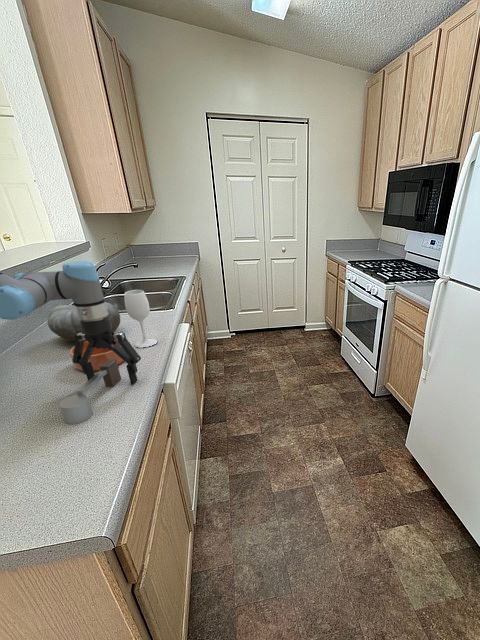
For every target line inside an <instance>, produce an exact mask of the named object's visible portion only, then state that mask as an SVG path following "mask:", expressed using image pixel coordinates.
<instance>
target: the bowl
mask: <svg viewBox="0 0 480 640" xmlns="http://www.w3.org/2000/svg"><path fill="white" fill-rule="evenodd" d="M114 340H115V341H116V339H114ZM117 342H118V341H117ZM118 343H119V342H118ZM88 344H89V342H88V341H85V342H84V347H83V352H82V357H83V355H84V353H85V351H86V349H87V346H88ZM112 346H113V344H112ZM119 346H121V345H120V344H119ZM121 347H122V346H121ZM74 348H75V345H73V347H71V348H70V350H69V355H70V358H71V361H73V355H74ZM107 360H116V362H117V365H118V366H119V365H121V364H122V363H123V362H125V361H124V360H123V359H122V358H120V357H119V356H118V355H117V354H116V353H115V352H113V351H112V350H109V349H108V348H107V349H104V348H99V349H96V348H95V349H94V351H93V352H92V354H91V356H90V358H89V361H88V362H91V364H92V367H93V370H94V372H99V371H100V370H101V369H100V366H101V365H103V364H104V363H105V362H106V361H107ZM88 362H87V363H88ZM72 364H73V367H74V368H75V369H76V370H78V371H82V372H83V370H82V367H81V365H79V364H77V363H76V364H74V363H73V362H72Z"/></svg>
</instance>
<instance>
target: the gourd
mask: <svg viewBox="0 0 480 640" xmlns="http://www.w3.org/2000/svg"><path fill="white" fill-rule="evenodd" d="M105 303H106V306H107V310H108V313H109V314H108V315H107V316H109V317H110V321H111V324H112V331H113V333H115V332H116V331H117V330H118V328H119V326H120V324H121V313H120V311H119V309H118V308H117V306H115V305H114V304H112V303H111V302H107V301H105ZM80 321H81V319H79V318H78V314H77V311H76V308H75V305H74V304H73V305H72V304H59V305H57V306H55V307H53V308H51V310H50V311H49V314H48V318H47V326H48V328H49V330H50V331H51V332H52V333H54V334H55V335H57V337H60V338H62V339H65V340H67V341H70V342H75V338H74V336H75V335H76V334H78V333H80V332H82V333H83V334H85V333H84V332H83V330H82V327H81V324H80ZM85 341H87V340H86V339H85V340H84V342H85Z"/></svg>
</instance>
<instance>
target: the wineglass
mask: <svg viewBox="0 0 480 640" xmlns="http://www.w3.org/2000/svg"><path fill="white" fill-rule="evenodd" d="M123 298H124V307H125V311H126V313H127V315H128V316H129V317H130V318H131V319H133V320H135V321H137V322H139V326H140V328H141V333H142V339H140V340H138V341H136V342H135V343H134V345H133V347H135V348H137V347H138V348H137V349H144V348H143V347H146V348H150V347H149V346H151V347H153V346H152V345H154V344H156V343H157V341H158V340H157V339H155V338H148V337H147V334H146V331H145V325H144V320H145V319H147V317H149V314H150V311H151V309H150V308H151V307H150V303H149V300H148V297H147V295H146V292H145V291H144V290H143V289H132V290H128V291H125V292H124V297H123ZM157 344H158V343H157ZM157 344H156V345H157ZM154 346H155V345H154Z"/></svg>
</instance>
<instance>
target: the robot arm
mask: <svg viewBox="0 0 480 640" xmlns="http://www.w3.org/2000/svg"><path fill="white" fill-rule="evenodd" d="M61 269H62V270H57V271H56V270H55V271H27V272H19V273H16V274H15V275H14V276H13V277H11V276H9V275H7V274H5V273H4V272H2V271H0V319H2V320H6V321H7V320H8V321H13V320H19V319H21V318H23V317H27V316H28V315H31V314H32V312H34V311H35V310H36V309H38V308H41V307H42V306H44V305H45V304H47V303H49V302H51V301H59V300H72V302H73V305H75V308H76V311H77V314H78V318H79V319H81V321H80V324H81V327H82V330H83V332H84V333H85V334H83V333H82V332H80V333H78V334H76V335H75V336H74V338H75V341H74V342H75V343H74V346H75V348H74V355H73V361H72V360H71V361H72V364H73V363H74V364H76V363H77V364H79V365H81V367H82V370H83V371H82V373H83V374H84V375H85V376H86V379H87V381H89V380H90V379H91V378H92V377H93V376H94V375H96V374H95V371H94V370H93V367H92V364H91V362H88V361H89V358H90V356H91V354H92V352H93V351H94V349H95V348H96V349H99V348H104V349H107V348H108V349H109V350H112V351H113V352H115V353H116V354H117V355H118V356H119V357H120V358H122V359H123V360H124V361H123V362H125V363H126V366H125V367H126V370H127V374H128V378H129V381H130V385H134V384H136V383H137V381H138V376H137V373H138V367H137V364H138V363H139V362H140V361H141V360H142V357H141V356H140V355H139V353H138V352H137V351H136V349H135V348H134V346H132V344H131V343H130V341H129V340H128V339H127V337H126V334H125V332H124V331H121V332H120V333H115V332H113V331H112V324H111V321H110V317H109V316H107V315H108V314H109V313H108V310H107V306H106V303H105V302H106V300H105V296H104V292H103V289H102V285H101V281H100V277H99V275H98V271H97V269H96V266H95V265H94V263H92V262H91V261H86V260H80V261H70V262H66V263H63V264H62V266H61ZM85 339H86V340H87V341H88V342H89V344H88V346H87V349H86V351H85V353H84V355H83V357H82V352H83V347H84V340H85ZM114 339H116V341H115V340H114ZM117 341H118V342H119V343H118V342H117ZM112 344H113V346H112ZM119 344H120V345H121V346H122V347H121V346H119ZM87 362H88V363H87ZM74 364H73V365H74Z"/></svg>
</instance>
